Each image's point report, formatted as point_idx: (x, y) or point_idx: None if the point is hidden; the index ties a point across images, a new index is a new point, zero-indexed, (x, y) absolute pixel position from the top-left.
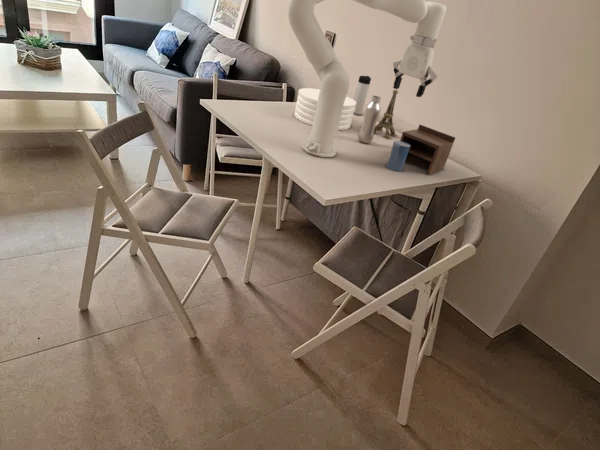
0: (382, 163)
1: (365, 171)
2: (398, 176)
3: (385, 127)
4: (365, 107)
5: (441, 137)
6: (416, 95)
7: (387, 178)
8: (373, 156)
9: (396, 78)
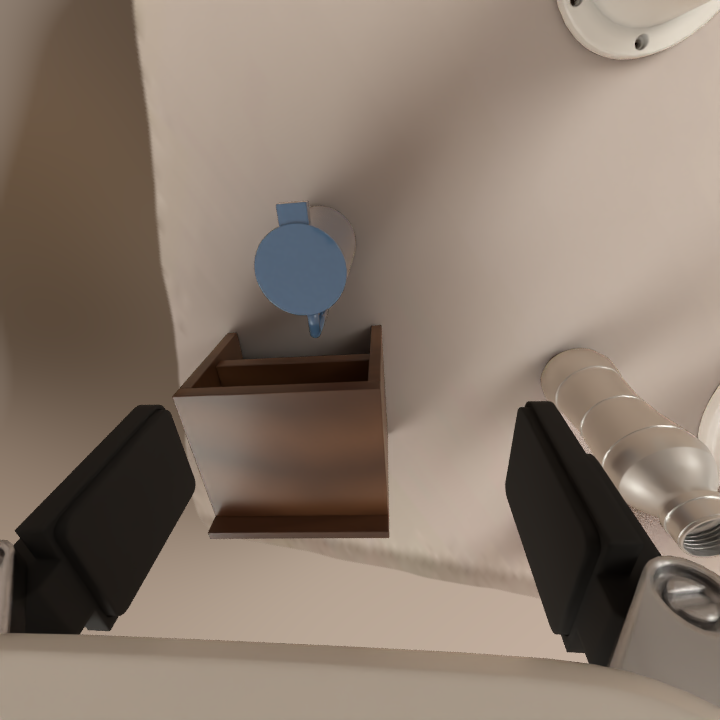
0: (376, 230)
1: (339, 13)
2: (247, 169)
3: None
4: (709, 450)
5: (269, 516)
6: (151, 407)
7: (242, 74)
8: (447, 261)
9: (620, 521)
